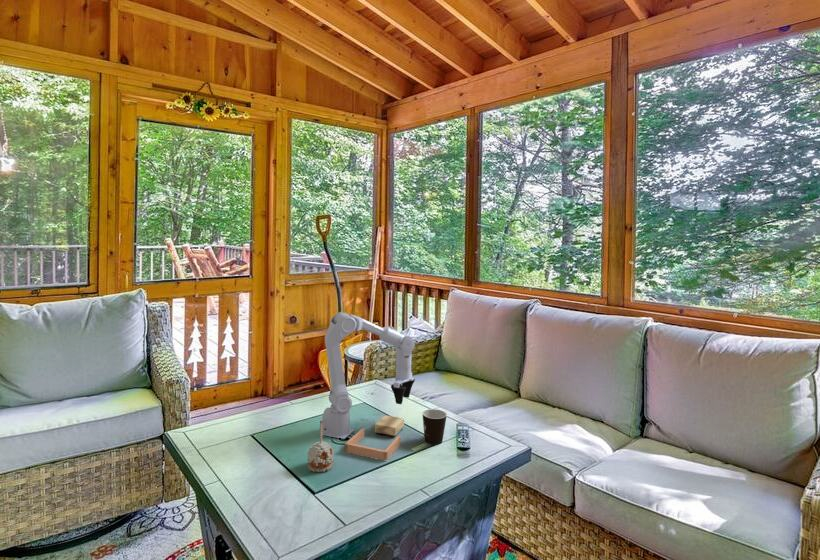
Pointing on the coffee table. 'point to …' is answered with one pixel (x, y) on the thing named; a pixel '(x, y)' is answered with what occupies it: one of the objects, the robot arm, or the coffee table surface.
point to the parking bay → (370, 452)
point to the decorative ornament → (320, 455)
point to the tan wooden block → (389, 425)
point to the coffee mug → (434, 426)
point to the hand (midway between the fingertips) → (402, 400)
